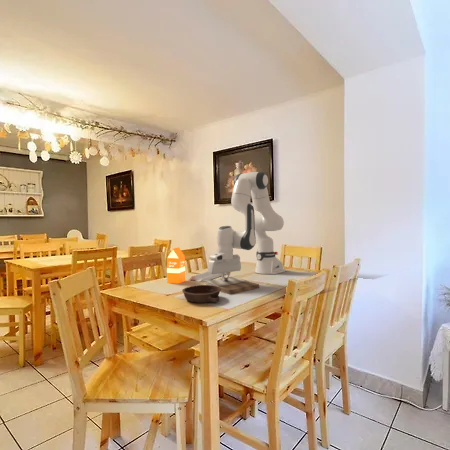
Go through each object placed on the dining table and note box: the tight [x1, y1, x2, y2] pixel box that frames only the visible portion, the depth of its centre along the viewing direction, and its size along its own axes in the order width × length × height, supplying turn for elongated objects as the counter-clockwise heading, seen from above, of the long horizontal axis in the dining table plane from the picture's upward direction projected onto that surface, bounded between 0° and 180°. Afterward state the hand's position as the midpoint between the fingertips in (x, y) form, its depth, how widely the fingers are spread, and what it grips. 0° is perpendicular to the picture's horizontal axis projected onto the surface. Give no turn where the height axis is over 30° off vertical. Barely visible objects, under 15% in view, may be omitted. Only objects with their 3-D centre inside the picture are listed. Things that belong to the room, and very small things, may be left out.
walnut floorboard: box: [219, 280, 260, 295], centre depth 154 cm, size 20×9×2 cm, turn 127°
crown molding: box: [188, 270, 226, 283], centre depth 189 cm, size 31×12×4 cm, turn 150°
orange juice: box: [166, 247, 186, 284], centre depth 175 cm, size 8×9×20 cm
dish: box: [182, 284, 221, 304], centre depth 136 cm, size 18×22×5 cm
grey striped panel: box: [205, 275, 247, 287], centre depth 162 cm, size 20×11×2 cm, turn 127°
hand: (225, 280), depth 163 cm, fingers closed, pressing on grey striped panel
